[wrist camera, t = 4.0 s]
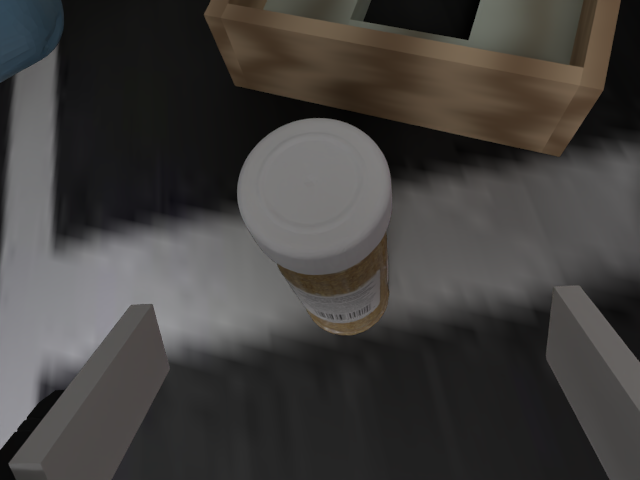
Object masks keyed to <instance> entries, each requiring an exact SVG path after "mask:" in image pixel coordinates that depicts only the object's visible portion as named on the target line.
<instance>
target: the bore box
mask: <svg viewBox="0 0 640 480" xmlns="http://www.w3.org/2000/svg"><path fill="white" fill-rule="evenodd" d="M370 2H371V0H211V1H210V3H209V5H208V7H207V9H206V11H205V13H204V16H205V19H206V21H207V23H208V25H209V28H210V30H211V32H212V35H213V37H214V39H215V41H216V44H217V46H218V48H219V50H220V53H221V55H222V57H223V60H224V62H225V64H226V66H227V69H228V71H229V73H230V75H231V78H232V80H233V82H234V85H235V86H239V87H243V88H248V89H253V90H257V91H262V92H266V93H271V94H275V95H280V96H284V97H289V98H294V99H298V100H303V101H307V102H312V103H316V104H321V105H325V106H330V107H335V108H339V109H344V110H348V111H353V112H357V113H362V114H367V115H371V116H376V117H380V118H385V119H389V120H394V121H398V122H403V123H408V124H412V125H417V126H421V127H426V128H430V129H435V130H439V131H444V132H449V133H453V134H458V135H462V136H467V137H471V138H476V139H481V140H485V141H490V142H494V143H499V144H503V145H508V146H512V147H517V148H522V149H526V150H531V151H535V152H540V153H544V154H549V155H553V156H558V157H560V156H561V154H562V153H563V151H564V150H565V148H566V147H567V145H568V143H569V142H570V140H571V139H572V137H573V136H574V134H575V133H576V131H577V130H578V128H579V127H580V125H581V124H582V122H583V120H584V119H585V117H586V116H587V114H588V113H589V111H590V110H591V108H592V107H593V105H594V104H595V102H596V101H597V99H598V98H599V96H600V94H601V93H602V91H603V89H604V84H605V79H606V74H607V69H608V64H609V58H610V53H611V48H612V43H613V38H614V33H615V27H616V22H617V17H618V12H619V7H620V2H621V0H480V4H479V7H478V10H477V14H476V17H475V20H474V24H473V27H472V30H471V34H470V37H469V40H463V39H458V38H452V37H447V36H441V35H435V34H430V33H424V32H419V31H413V30H407V29H402V28H396V27H390V26H385V25H379V24H374V23H368V22H363V20H364V18H365V15H366V12H367V10H368V7H369V5H370Z"/></svg>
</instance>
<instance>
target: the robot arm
mask: <svg viewBox="0 0 640 480" xmlns="http://www.w3.org/2000/svg"><path fill="white" fill-rule="evenodd" d="M63 27H64V12H63V6H62V2H61V0H0V82H2V81H4V80H6V79H8V78H9V77H11V76H13V75H15V74H16V73H18V72H20V71H22V70H24V69H25V68H27V67H29V66H31V65H33V64H34V63H36V62H38V61H40V60H42V59H43V58H45V57H46V56H48V55H49V54H50V53H51V52H52V51H53V50H54V49H55V47H56V46H57V45H58V43H59V41H60V38H61V36H62V32H63ZM546 359H547V361H548V363H549V365H550V367H551V369H552V371H553V373H554V374H555V376H556V378H557V380H558V382H559V384H560V386H561V388H562V390H563V392H564V394H565V395H566V397H567V399H568V401H569V403H570V405H571V407H572V409H573V411H574V413H575V414H576V416H577V418H578V420H579V422H580V424H581V426H582V428H583V430H584V432H585V433H586V435H587V437H588V439H589V441H590V443H591V445H592V447H593V449H594V451H595V452H596V454H597V456H598V458H599V460H600V462H601V464H602V466H603V468H604V470H605V471H606V473H607V475H608V477H609V479H610V480H640V362H639V361H638V360H637V358H636V357H635V356H634V355H633V353H632V352H631V351H630V350H629V348H628V347H627V346H626V344H625V343H624V342H623V341H622V339H621V338H620V337H619V336H618V334H617V333H616V332H615V330H614V329H613V328H612V327H611V325H610V324H609V323H608V321H607V320H606V319H605V318H604V316H603V315H602V314H601V313H600V311H599V310H598V309H597V307H596V306H595V305H594V304H593V302H592V301H591V300H590V298H589V297H588V296H587V295H586V293H585V292H584V291H583V290H582V288H581V287H580V286H579V285H577V286H554V288H553V297H552V306H551V315H550V324H549V333H548V342H547V351H546ZM169 370H170V367H169V363H168V360H167V356H166V352H165V349H164V345H163V341H162V337H161V334H160V330H159V326H158V323H157V319H156V315H155V312H154V308H153V304H140V305H131V306H130V307H129V308H128V309H127V311H126V312H125V313H124V315H123V316H122V317H121V319H120V320H119V321H118V322H117V324H116V325H115V326H114V328H113V329H112V330H111V331H110V333H109V334H108V335H107V337H106V338H105V339H104V341H103V342H102V343H101V344H100V346H99V347H98V348H97V350H96V351H95V352H94V353H93V355H92V356H91V357H90V359H89V360H88V361H87V363H86V364H85V365H84V366H83V368H82V369H81V370H80V372H79V373H78V374H77V375H76V377H75V378H74V379H73V381H72V382H71V383H70V385H69V386H68V387H67V388H66V390H55V391H54V392H53V393H51V394H50V395H49V396H47V397H46V398H45V399H43V400H42V401H41V402H39V403H38V404H37V406H36V407H35V408H34V409H33V410H32V412H31V413H30V414H29V415H28V417H27V420H24V421H23V423H22V424H21V425H20V426H19V428H18V429H17V432H15V433H14V434H13V435H12V436H11V437H10V439H9V440H8V441H7V442H6V444H5V445H4V446H3V447H2V448H1V450H0V480H111V479H112V478H113V476H114V474H115V472H116V470H117V468H118V466H119V464H120V462H121V460H122V459H123V457H124V455H125V453H126V451H127V449H128V447H129V445H130V443H131V442H132V440H133V438H134V436H135V434H136V432H137V430H138V428H139V426H140V425H141V423H142V421H143V419H144V417H145V415H146V413H147V411H148V409H149V408H150V406H151V404H152V402H153V400H154V398H155V396H156V394H157V392H158V391H159V389H160V387H161V385H162V383H163V381H164V379H165V377H166V375H167V373H168V372H169Z"/></svg>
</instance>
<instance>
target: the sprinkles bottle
mask: <svg viewBox="0 0 640 480" xmlns="http://www.w3.org/2000/svg"><path fill="white" fill-rule="evenodd" d="M237 200H238V206H239V210H240V214H241V217H242V219H243V221H244V223H245V225H246V227H247V229H248V230H249V232H250V233H251V235H252V237H253V238H254V240H255V241H256V243H257V244H258V245H259V247H260V248H261V249H262V251H263V252H264V253H265V254H266V255H267V256H268V257H269V258H270V259H272V260H273V261H274V262H275V263H277V265H278V268H279V270H280V271H281V273H282V274H283V276H284V277H285V279H286V280H287V282H288V283H289V285H290V286H291V288H292V289H293V291H294V292H295V294H296V295H297V296H298V298H299V299H300V301H301V302H302V304H303V305H304V306H305V307H306V309H307V312H308V314H309V315H310V316H311V318H312V320H313V321H314V322H315V323H316V324H317V325H318V326H319V327H321V328H322V329H324V330H326V331H328V332H330V333H333V334H338V335H355V334H358V333H361V332H364V331H366V330H368V329H369V328H370V327H372V326H373V325H374V324H375V323H377V322H378V321H379V319H380V318H381V316H382V315H383V313H384V312H385V310H386V308H387V304H388V297H389V290H388V284H387V283H388V251H387V235H386V230H387V227H388V225H389V222H390V218H391V213H392V186H391V176H390V171H389V167H388V164H387V161H386V159H385V157H384V155H383V153H382V151H381V150H380V149H379V147H378V146H377V144H376V143H375V142H374V141H373V140H372V139H371V138H370V137H369V136H368V135H367V134H365V133H364V132H363V131H361V130H360V129H358V128H356V127H354V126H352V125H350V124H348V123H345V122H342V121H339V120H334V119H327V118H311V119H303V120H298V121H294V122H291V123H289V124H286V125H284V126H281V127H279V128H278V129H276V130H274V131H273V132H271V133H270V134H268V135H267V136H266V137H264V138H263V139H262V140H261V141H260V142H259V143H258V144H257V145H256V146H255V147H254V149H253V150H252V151H251V152H250V154H249V155H248V157H247V158H246V160H245V162H244V165H243V167H242V169H241V172H240V175H239V179H238V184H237Z"/></svg>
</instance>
